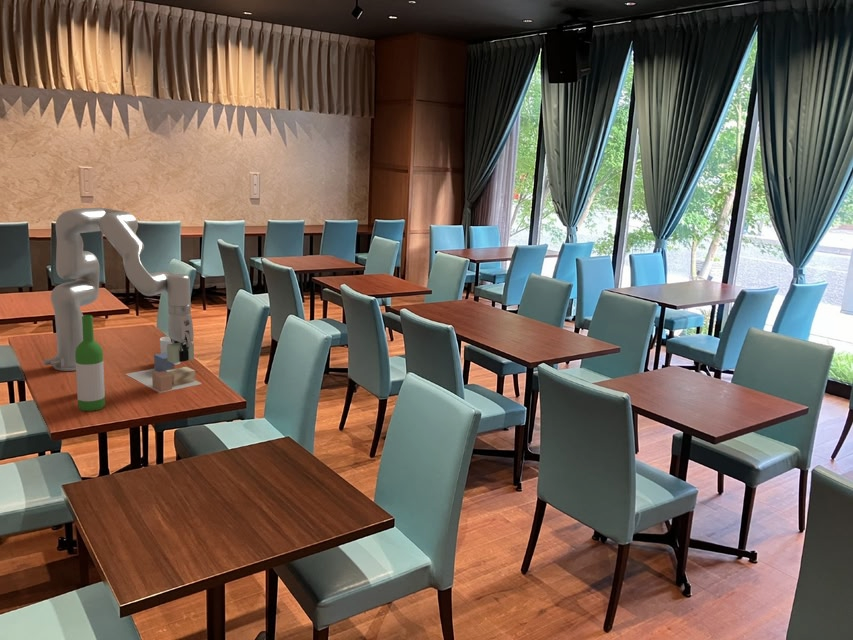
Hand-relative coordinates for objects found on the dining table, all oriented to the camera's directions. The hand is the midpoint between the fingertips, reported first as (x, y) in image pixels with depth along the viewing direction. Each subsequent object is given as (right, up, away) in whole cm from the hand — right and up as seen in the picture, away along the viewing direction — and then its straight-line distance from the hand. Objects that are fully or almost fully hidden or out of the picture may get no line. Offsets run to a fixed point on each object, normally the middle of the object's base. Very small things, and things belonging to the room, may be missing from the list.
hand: (180, 358), depth 245 cm
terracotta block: (-4, -10, -6) cm, 12 cm away
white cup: (-12, -3, +22) cm, 25 cm away
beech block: (-1, -8, +2) cm, 8 cm away
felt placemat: (-7, -8, +3) cm, 11 cm away
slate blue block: (-10, -5, +12) cm, 16 cm away
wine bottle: (-18, -14, -27) cm, 36 cm away
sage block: (0, 0, 0) cm, 0 cm away
